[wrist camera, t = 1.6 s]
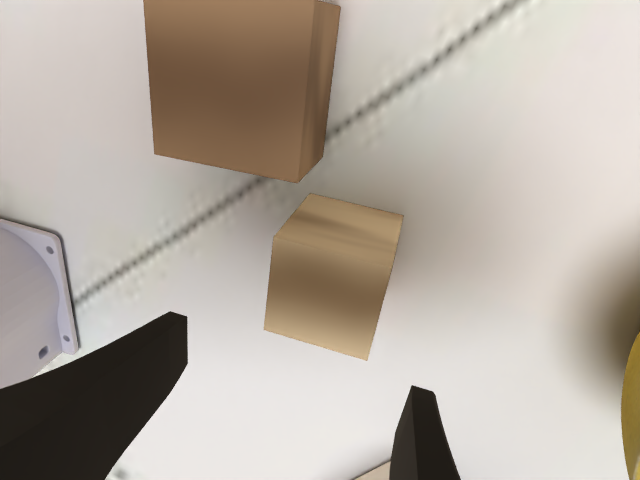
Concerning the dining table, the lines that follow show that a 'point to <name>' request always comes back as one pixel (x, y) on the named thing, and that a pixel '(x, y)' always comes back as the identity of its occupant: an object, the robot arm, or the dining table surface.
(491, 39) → the dining table surface
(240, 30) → the walnut plinth
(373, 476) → the medicine bottle
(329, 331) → the beech cube
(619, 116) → the dining table surface
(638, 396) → the flower pot
